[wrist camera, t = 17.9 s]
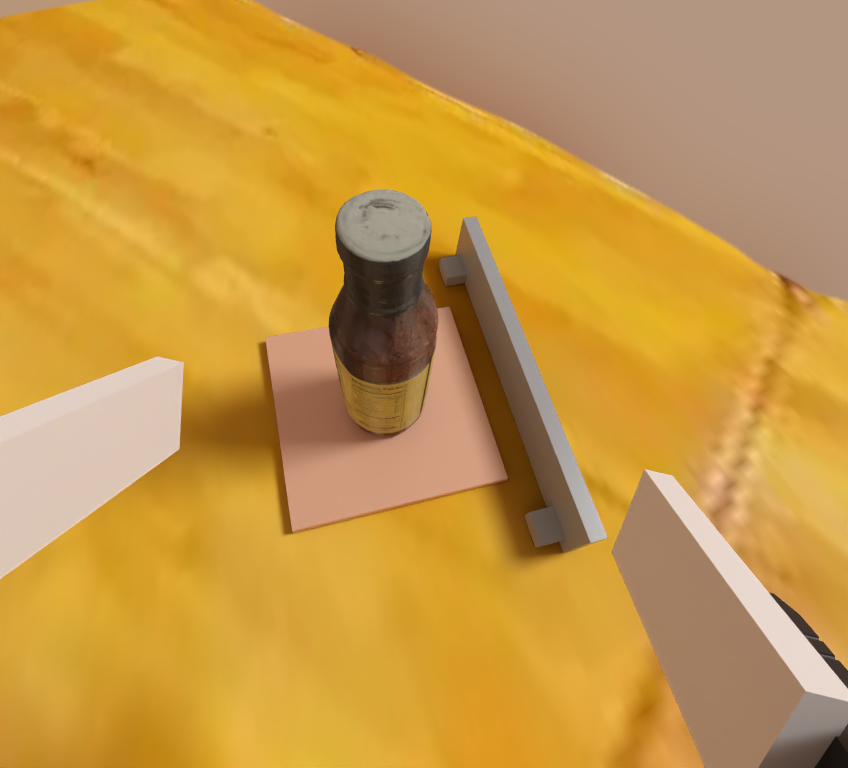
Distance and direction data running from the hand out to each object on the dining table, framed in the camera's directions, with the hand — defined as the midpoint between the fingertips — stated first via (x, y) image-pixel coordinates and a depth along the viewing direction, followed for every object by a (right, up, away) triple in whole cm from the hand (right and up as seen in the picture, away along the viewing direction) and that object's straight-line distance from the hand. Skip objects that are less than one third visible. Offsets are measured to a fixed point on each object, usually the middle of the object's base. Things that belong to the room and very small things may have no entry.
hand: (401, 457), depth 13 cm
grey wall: (+8, +2, +27) cm, 28 cm away
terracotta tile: (-3, 0, +25) cm, 25 cm away
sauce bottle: (-3, 0, +24) cm, 24 cm away
